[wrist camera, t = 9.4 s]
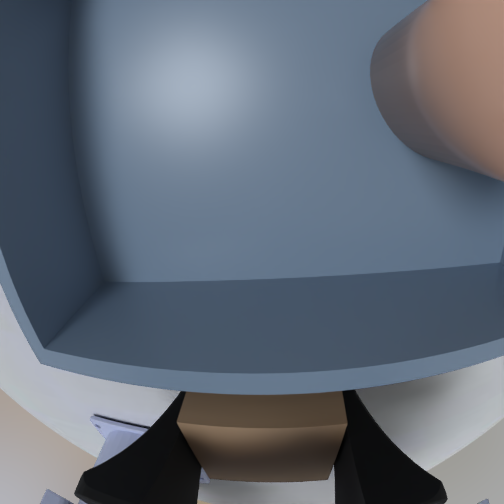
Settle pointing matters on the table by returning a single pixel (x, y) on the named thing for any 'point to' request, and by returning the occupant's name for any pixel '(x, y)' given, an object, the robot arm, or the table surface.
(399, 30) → the terracotta cylinder
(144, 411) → the table surface
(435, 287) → the tote
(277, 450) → the walnut block
